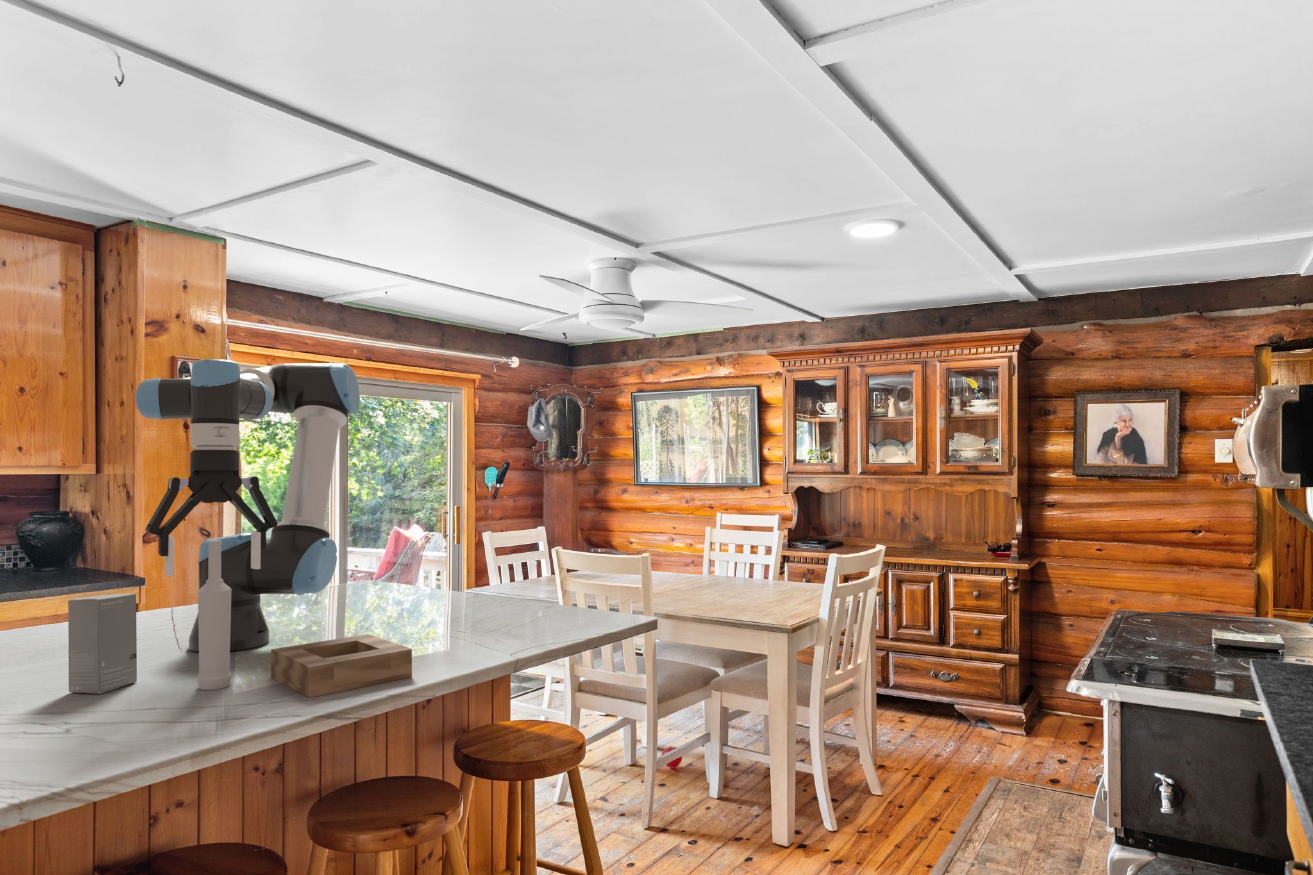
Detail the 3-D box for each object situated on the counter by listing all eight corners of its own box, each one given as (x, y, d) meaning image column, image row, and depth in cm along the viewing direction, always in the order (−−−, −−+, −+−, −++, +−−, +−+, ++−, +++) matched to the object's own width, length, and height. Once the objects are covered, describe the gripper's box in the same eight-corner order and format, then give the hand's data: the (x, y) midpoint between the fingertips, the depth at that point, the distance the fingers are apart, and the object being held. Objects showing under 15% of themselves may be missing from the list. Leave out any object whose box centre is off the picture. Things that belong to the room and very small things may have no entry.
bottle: (237, 683, 144) (238, 539, 145) (210, 691, 140) (211, 542, 140) (217, 680, 146) (218, 538, 147) (190, 688, 142) (191, 541, 142)
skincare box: (99, 695, 138) (100, 599, 138) (63, 693, 139) (64, 598, 140) (140, 681, 146) (141, 591, 147) (106, 680, 148) (106, 590, 148)
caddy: (270, 677, 148) (271, 649, 149) (368, 659, 161) (368, 633, 161) (309, 697, 135) (309, 666, 135) (412, 677, 148) (411, 648, 148)
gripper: (136, 447, 133) (135, 581, 132) (296, 449, 150) (296, 567, 149) (126, 448, 138) (124, 577, 137) (281, 450, 155) (281, 564, 154)
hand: (213, 572), depth 143 cm, fingers open, 13 cm apart
